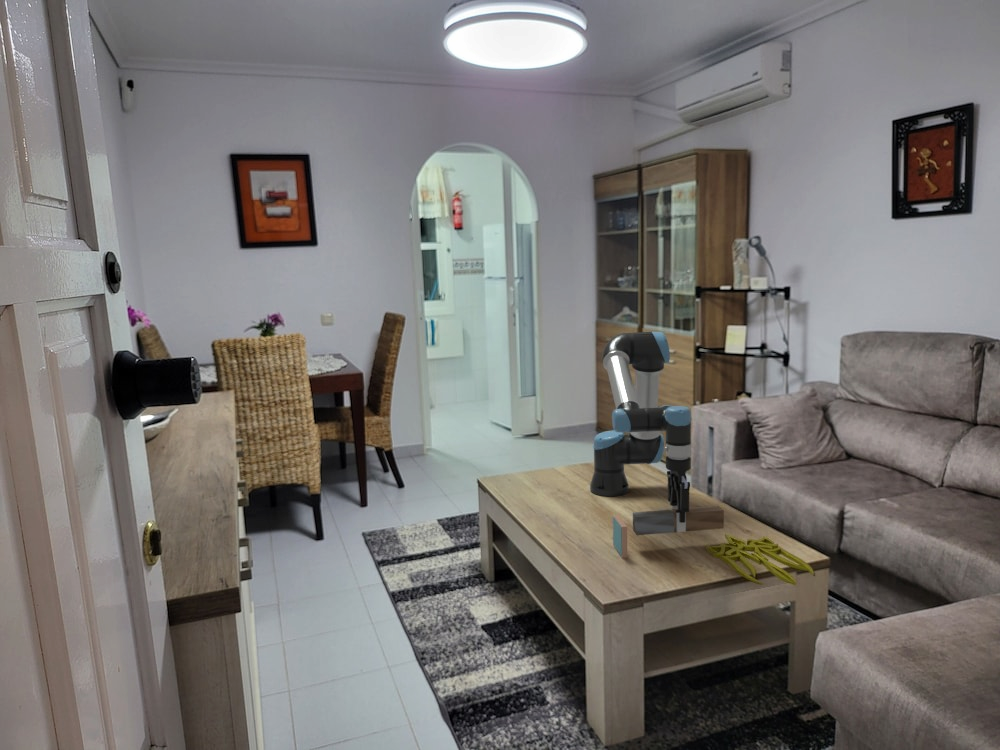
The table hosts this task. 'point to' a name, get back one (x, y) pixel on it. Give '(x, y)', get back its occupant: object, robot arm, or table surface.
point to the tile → (620, 536)
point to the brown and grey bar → (667, 520)
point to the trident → (757, 557)
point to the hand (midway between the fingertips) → (678, 528)
